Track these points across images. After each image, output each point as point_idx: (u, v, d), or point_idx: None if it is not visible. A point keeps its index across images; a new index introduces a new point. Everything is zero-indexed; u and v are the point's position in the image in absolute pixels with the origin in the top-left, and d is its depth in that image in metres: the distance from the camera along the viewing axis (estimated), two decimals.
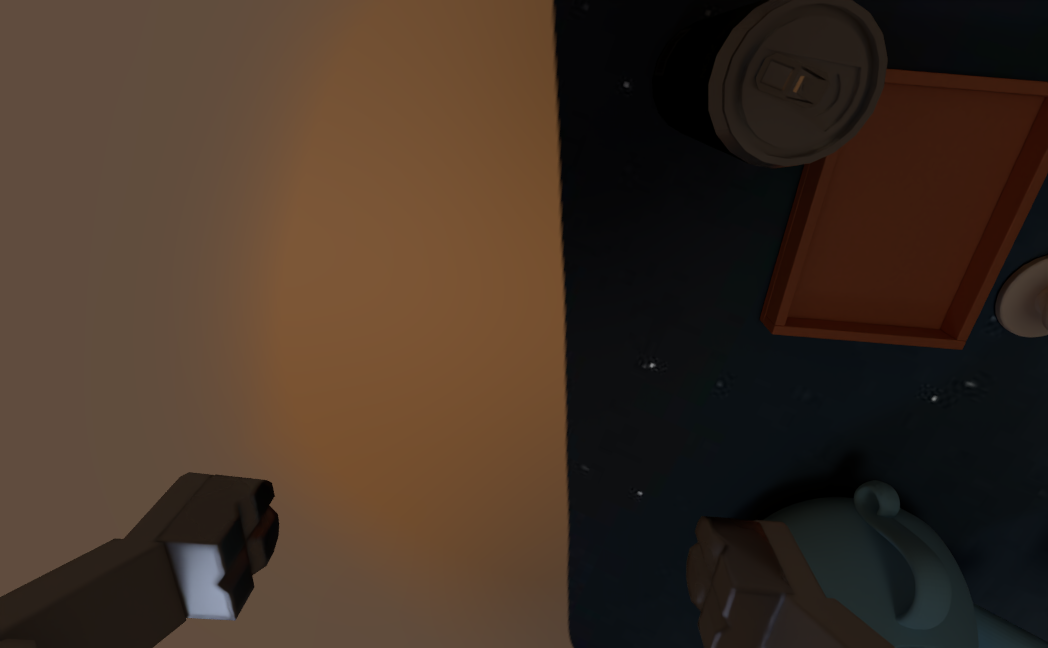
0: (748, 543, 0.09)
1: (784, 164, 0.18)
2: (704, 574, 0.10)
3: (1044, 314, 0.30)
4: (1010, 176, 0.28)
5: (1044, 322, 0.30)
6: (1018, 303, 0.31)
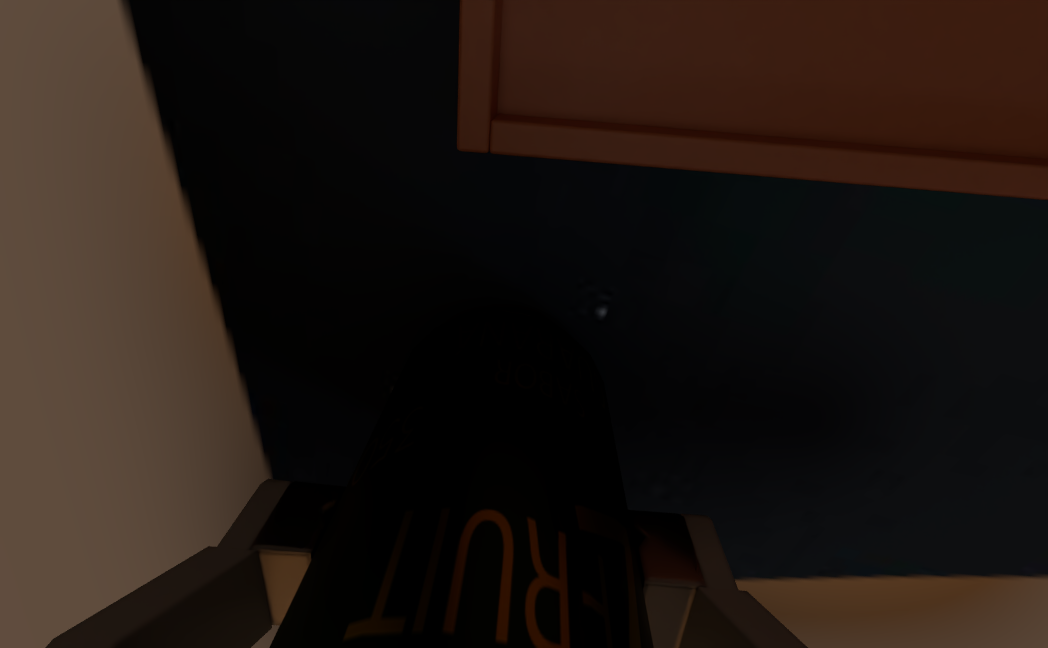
0: (668, 537, 0.09)
1: None
2: None
3: None
4: None
5: None
6: None
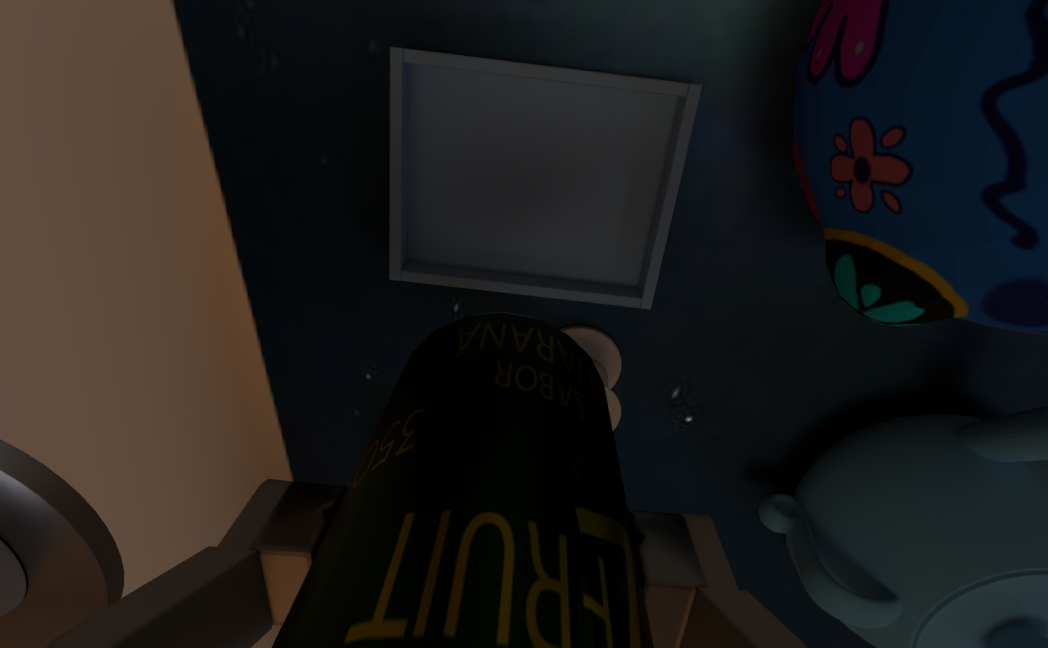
0: (669, 536, 0.09)
1: None
2: None
3: None
4: None
5: None
6: None
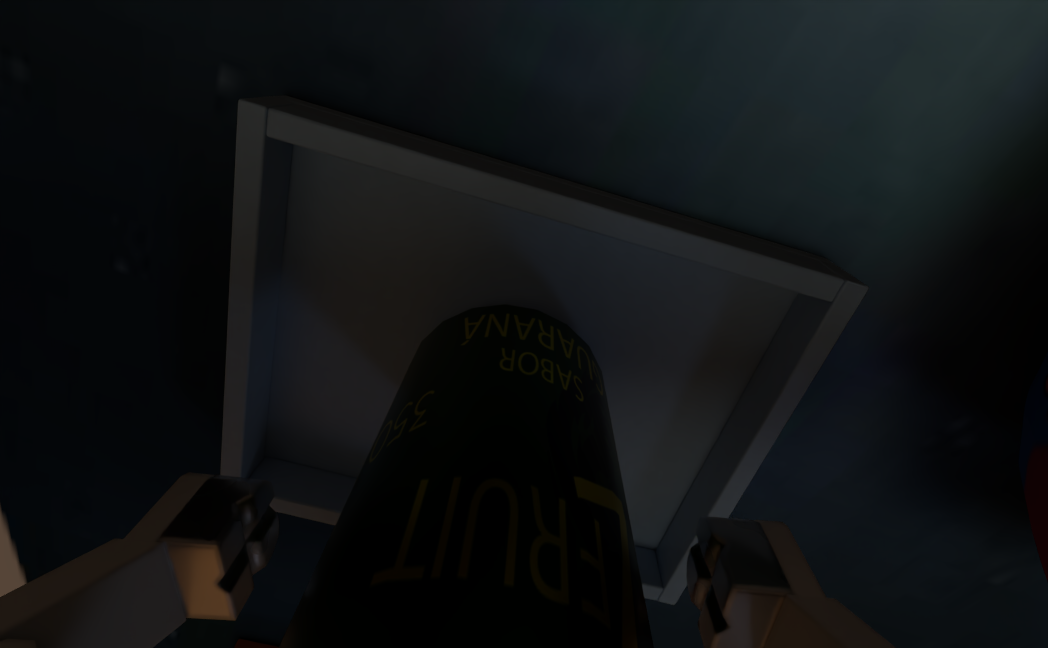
0: (748, 543, 0.09)
1: None
2: (704, 574, 0.10)
3: None
4: None
5: None
6: None
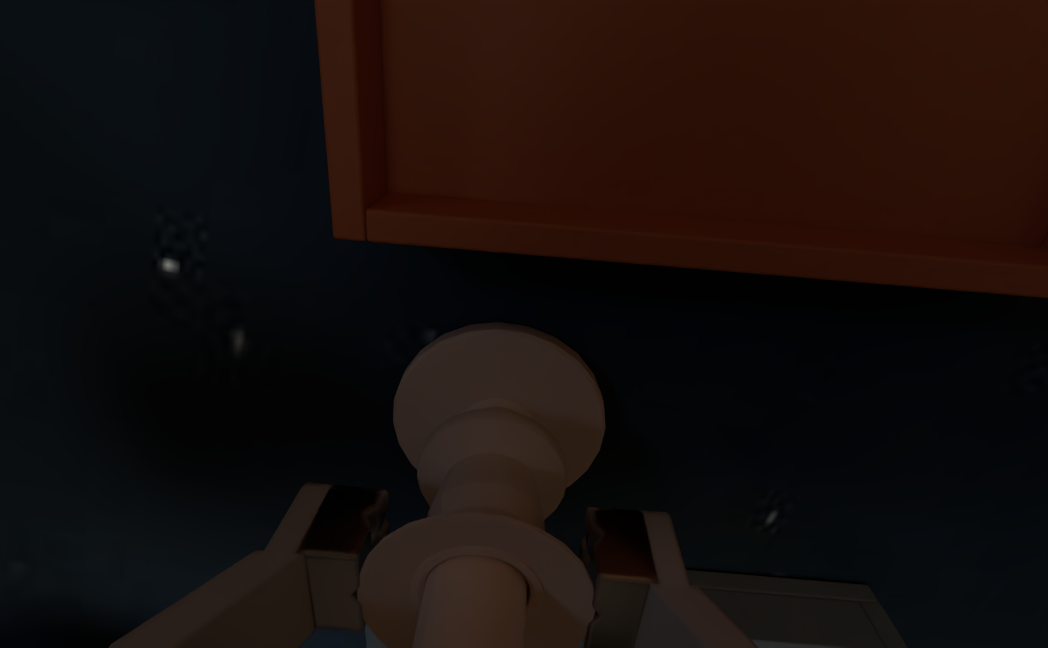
0: (625, 533, 0.09)
1: None
2: (588, 565, 0.10)
3: (474, 413, 0.11)
4: (846, 230, 0.10)
5: (451, 421, 0.11)
6: (482, 366, 0.12)
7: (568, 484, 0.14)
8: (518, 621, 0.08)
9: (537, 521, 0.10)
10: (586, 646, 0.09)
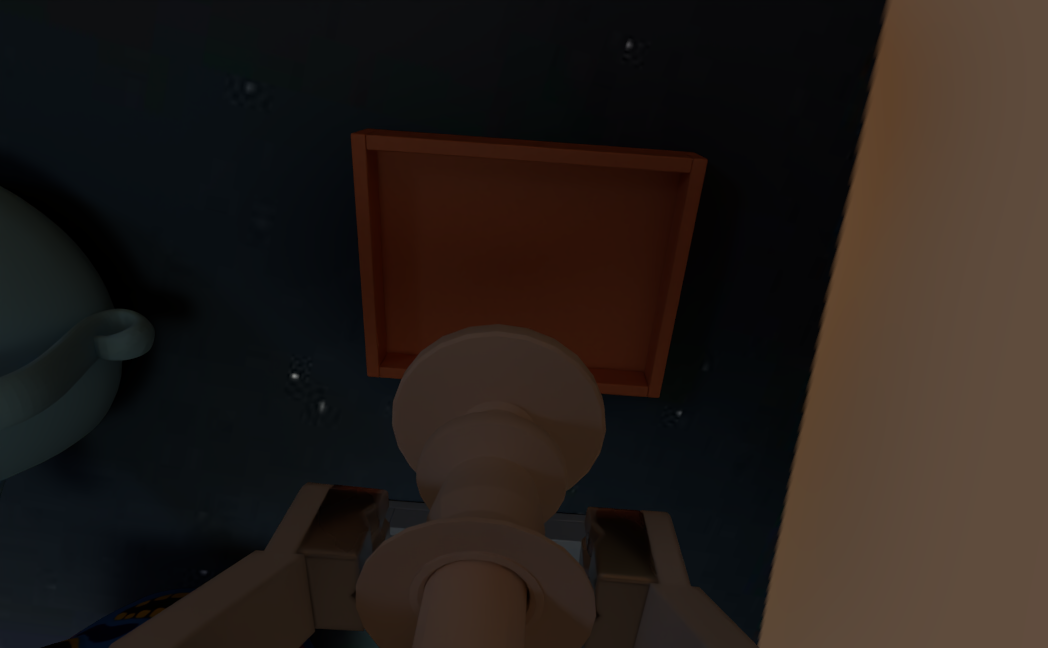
0: (625, 533, 0.09)
1: None
2: (588, 565, 0.10)
3: (473, 416, 0.11)
4: None
5: (451, 424, 0.11)
6: (482, 369, 0.12)
7: (568, 487, 0.14)
8: (518, 627, 0.08)
9: (537, 525, 0.10)
10: (586, 646, 0.09)
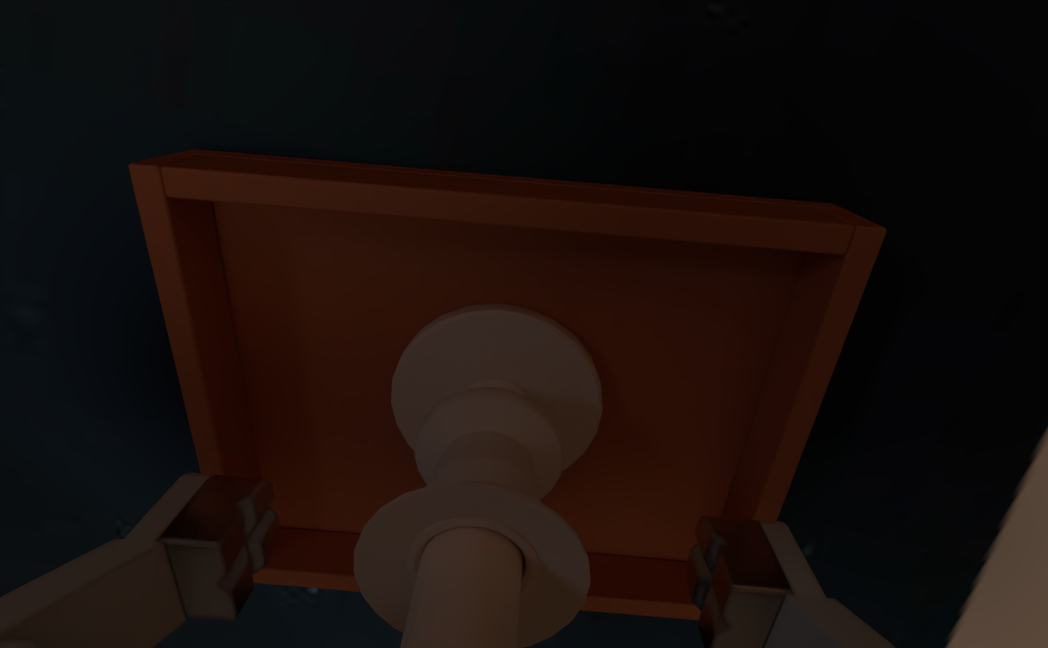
0: (748, 543, 0.09)
1: None
2: (704, 574, 0.10)
3: (471, 391, 0.11)
4: None
5: (449, 399, 0.11)
6: (480, 347, 0.12)
7: (565, 467, 0.14)
8: (513, 591, 0.08)
9: (533, 497, 0.10)
10: None
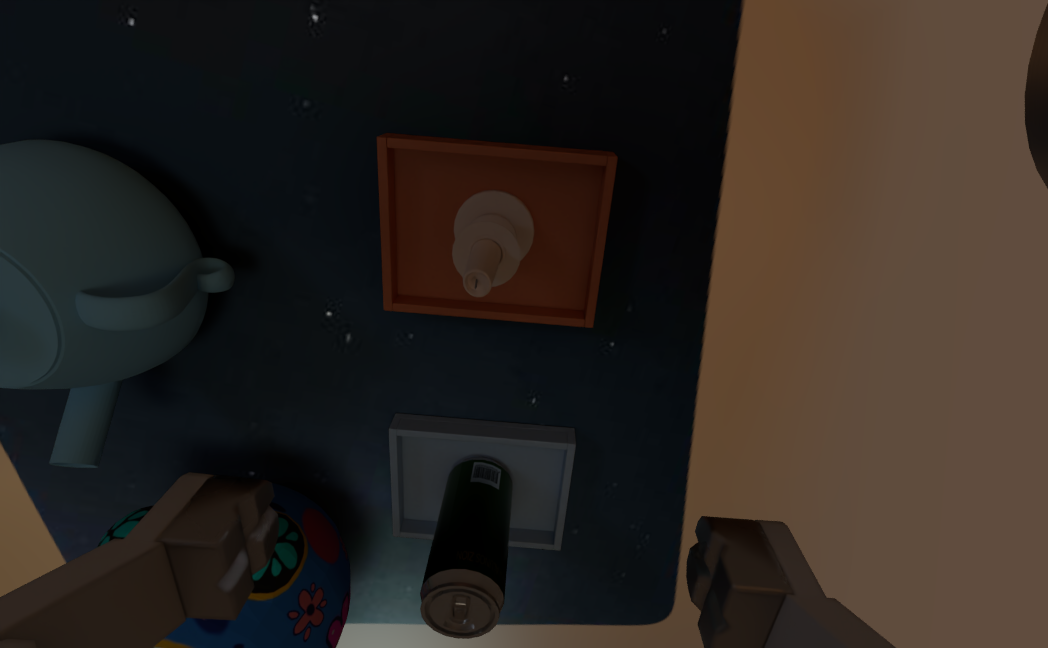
0: (748, 543, 0.09)
1: (422, 615, 0.33)
2: (705, 574, 0.10)
3: (485, 214, 0.32)
4: (527, 306, 0.37)
5: (477, 217, 0.32)
6: (488, 205, 0.34)
7: (521, 258, 0.35)
8: (498, 252, 0.29)
9: None
10: None
